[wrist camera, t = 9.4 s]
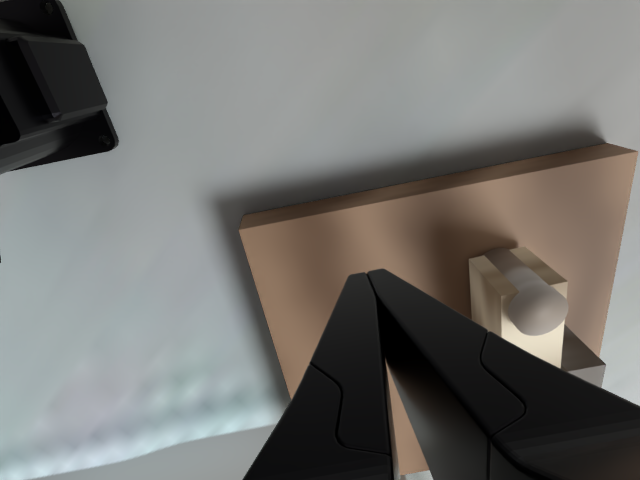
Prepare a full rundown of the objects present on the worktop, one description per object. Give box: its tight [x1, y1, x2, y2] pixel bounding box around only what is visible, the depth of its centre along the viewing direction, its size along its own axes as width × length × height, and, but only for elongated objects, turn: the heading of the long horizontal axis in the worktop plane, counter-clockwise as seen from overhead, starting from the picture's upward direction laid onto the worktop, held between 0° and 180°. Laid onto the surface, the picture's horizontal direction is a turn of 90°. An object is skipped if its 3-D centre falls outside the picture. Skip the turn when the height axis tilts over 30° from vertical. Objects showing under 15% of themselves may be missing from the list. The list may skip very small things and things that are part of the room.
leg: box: [469, 246, 568, 368], centre depth 21 cm, size 13×3×4 cm, turn 13°
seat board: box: [239, 143, 638, 475], centre depth 23 cm, size 20×22×6 cm
